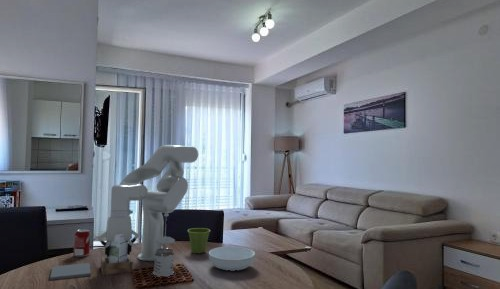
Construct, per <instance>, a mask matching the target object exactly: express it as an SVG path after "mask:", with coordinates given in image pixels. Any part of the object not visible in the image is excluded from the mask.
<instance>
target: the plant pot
mask: <svg viewBox="0 0 500 289" xmlns="http://www.w3.org/2000/svg"><path fill="white" fill-rule="evenodd" d="M187 232H188V236H189V242H190V244H189V246H190V252H191V253H192V252H193V253H192V254H195V253H198V254H200V253H202V252H204V253H206V250H207V245H208V240H209V236H210V232H211V229H209V228H205V227H196V228H195V227H194V228H188V229H187ZM202 254H203V253H202Z"/></svg>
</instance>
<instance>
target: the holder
mask: <svg viewBox="0 0 500 289" xmlns="http://www.w3.org/2000/svg"><path fill="white" fill-rule="evenodd" d="M108 259H109V257H107V256H102V257H101V258H100V271H101V274H102V275H107V276H108V275H114V274H115V275H116V274H122V273H124V274H125V273H131V272H133V265H134V263H133V260H132V257H131V256H130V255H128V259H127V262H118V263H108Z"/></svg>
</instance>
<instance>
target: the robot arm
mask: <svg viewBox="0 0 500 289" xmlns="http://www.w3.org/2000/svg"><path fill="white" fill-rule="evenodd" d="M198 159H199V151H198V149H197V148H196V147H195V146H190V145H188V146H187V145H177V144H176V145H175V144H173V145H172V144H164V145H161V146H158V148H157V149H156V150H155V151H154V152H153V154H152V155H151V156H150V158H149V159H148V160H147V161H146V163H144V164H143V165H141V166H139V167H137V168H136V169H134V170H132V171H131V172H129V173H128V174H127V175H126V176H125V177H124V178H123V180H121V182H120V183H119V184H115V185H113V186H112V187H111V192H110V216H108V218H107V222H106V228H105V229H106V231H105V232H103V233H102V234H101V235H99V236H98V237H97V240H98V242H99V243H100V244H101V245H102V246H104V255H105V256H106V257H109V244H110V243H111V242H113V241H114V239H115V235H117V234H124V240H127V241H128V255H129V256H130V255H131V252H132V249H133V248H132V246H133V244H134V243H135V242H136V241H137V240H138V238H139V237H140V234H139V233H138V232H136V231H135V230H133V228H132V225H133V224H132V218H131V214H133V211H134V210H133V209H132V210H131V209H130V202H131V201H138V202H139V201H141V204H142V205H141V207H142V213H143V214H142V215H143V216H142V217H143V218H142V234H141V235H142V238H141V253H139V254H138V255H137V259H138V260H140V261H144V262H154V258H155V253H157V252H156V250H157V249H160V248H164V246H163V244H160V246H159V243H157V242H155V240H156V239H158V238H160V237H164V224H165V223H164V215H163V214H165V213H168V214H171V213H173V212H174V211H175V210H177V207H178V206H179V204H180V203H181V201H182V200H183V199H184V197H185V195H186V194H187V191H188V188H189V185H188V183H189V182H188V180H187V179H186V178H185V177H183V176H184V172H185V171H184V167H183V163H184V164H185V163H187V164H189V163H194V162H196V161H197V160H198ZM166 166H168V167H167V169H166V171H165V172H164V174H163V175H162V176H161V177H160V179H159V181H157V184H156V190H157V191H156V190H150V191H148V188H147V187H146V185H145V184H142V183H143V182H144V181H147V180H150V179H154V178H156V177H158V176H160V175H161V173H162V172H163V170H164V169H165V168H166ZM133 236H134V237H133ZM132 237H133V238H132ZM104 238H106V241H104ZM170 248H171V247H170ZM171 249H173V248H171ZM161 257H163V254H162V253H161ZM155 261H156V260H155Z"/></svg>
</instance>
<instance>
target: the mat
mask: <svg viewBox="0 0 500 289" xmlns="http://www.w3.org/2000/svg"><path fill="white" fill-rule="evenodd" d="M90 264H91V263H90V262H87V263H85V262H84V263H77V264H65V265H55V266H52V267H51V271H50V276H49V281H55V280H56V281H57V280H64V279H72V278H74V279H75V278H80V277H81V278H82V277H90V276H91V275H92V272H91V265H90Z"/></svg>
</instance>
